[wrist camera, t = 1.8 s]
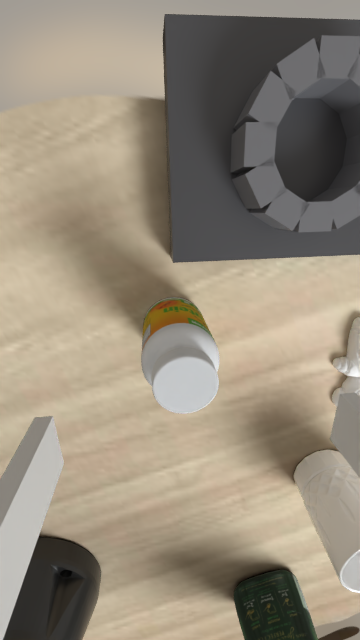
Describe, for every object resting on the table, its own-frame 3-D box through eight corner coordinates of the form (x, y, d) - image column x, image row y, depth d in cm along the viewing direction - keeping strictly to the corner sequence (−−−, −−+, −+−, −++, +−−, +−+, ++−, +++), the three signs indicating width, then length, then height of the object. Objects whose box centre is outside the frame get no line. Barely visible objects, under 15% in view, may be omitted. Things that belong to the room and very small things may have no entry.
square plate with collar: (170, 257, 24) (176, 270, 19) (162, 38, 19) (167, -27, 13) (375, 248, 25) (433, 258, 20) (420, 44, 20) (512, -13, 15)
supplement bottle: (210, 303, 25) (243, 355, 16) (193, 356, 27) (215, 429, 18) (150, 289, 24) (151, 336, 15) (137, 345, 26) (131, 416, 17)
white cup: (297, 444, 33) (356, 538, 23) (360, 444, 34) (441, 534, 24) (281, 494, 35) (329, 596, 26) (340, 493, 36) (406, 590, 27)
